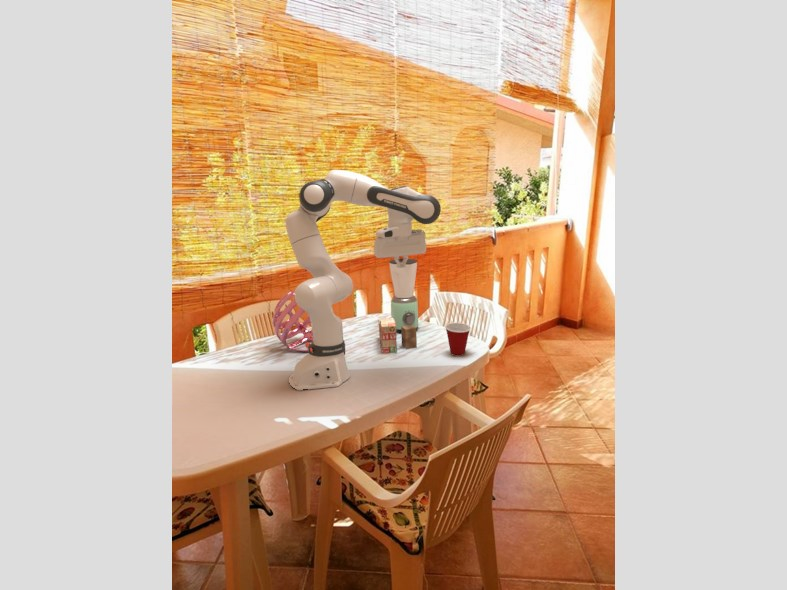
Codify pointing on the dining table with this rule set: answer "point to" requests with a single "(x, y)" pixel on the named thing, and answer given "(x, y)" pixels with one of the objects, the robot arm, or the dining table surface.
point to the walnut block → (409, 337)
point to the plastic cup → (457, 337)
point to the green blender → (404, 294)
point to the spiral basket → (290, 322)
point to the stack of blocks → (387, 335)
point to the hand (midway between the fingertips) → (401, 267)
